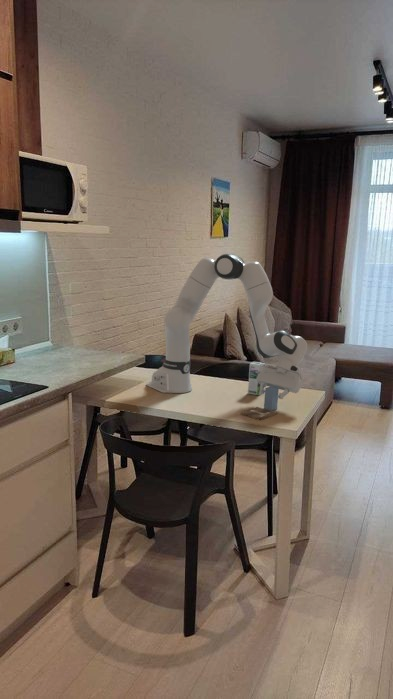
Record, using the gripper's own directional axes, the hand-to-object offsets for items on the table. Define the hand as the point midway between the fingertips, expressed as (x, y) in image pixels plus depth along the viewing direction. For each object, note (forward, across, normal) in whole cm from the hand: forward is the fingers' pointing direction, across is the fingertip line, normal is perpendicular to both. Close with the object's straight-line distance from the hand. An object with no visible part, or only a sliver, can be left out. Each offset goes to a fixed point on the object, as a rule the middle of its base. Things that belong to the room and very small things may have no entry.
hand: (270, 395), depth 224 cm
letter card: (+11, +1, -2) cm, 11 cm away
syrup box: (-6, -18, +15) cm, 24 cm away
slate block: (+4, 0, +5) cm, 6 cm away
